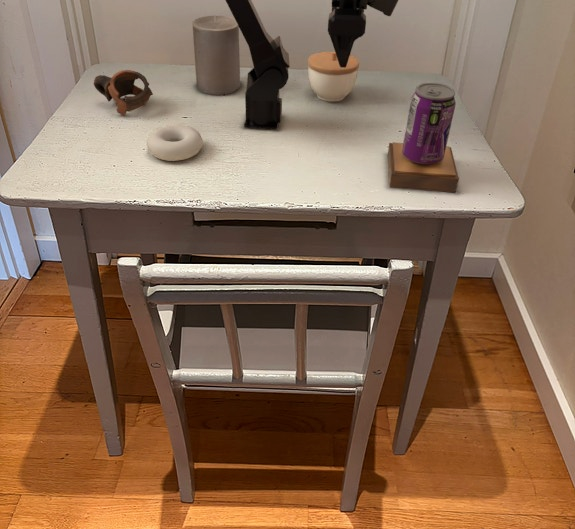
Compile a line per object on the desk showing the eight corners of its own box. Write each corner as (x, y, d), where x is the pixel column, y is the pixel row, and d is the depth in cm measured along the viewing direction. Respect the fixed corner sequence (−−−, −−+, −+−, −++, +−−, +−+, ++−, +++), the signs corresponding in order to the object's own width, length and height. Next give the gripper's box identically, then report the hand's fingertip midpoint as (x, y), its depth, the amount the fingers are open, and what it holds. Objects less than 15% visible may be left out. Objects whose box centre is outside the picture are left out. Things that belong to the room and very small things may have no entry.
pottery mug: (156, 97, 122) (157, 72, 114) (145, 133, 118) (145, 109, 111) (100, 81, 120) (97, 54, 113) (86, 116, 116) (82, 91, 109)
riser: (389, 187, 95) (392, 171, 93) (387, 155, 104) (389, 140, 102) (455, 192, 95) (459, 176, 93) (448, 159, 103) (451, 145, 101)
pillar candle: (193, 80, 129) (188, 10, 119) (236, 76, 131) (233, 7, 121) (200, 97, 121) (195, 24, 112) (245, 93, 124) (243, 21, 114)
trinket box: (337, 82, 129) (341, 40, 123) (365, 100, 122) (370, 56, 116) (297, 91, 125) (298, 48, 119) (323, 110, 118) (326, 65, 112)
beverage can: (434, 172, 94) (449, 103, 86) (394, 160, 96) (406, 92, 89) (448, 154, 98) (464, 87, 91) (410, 143, 101) (422, 77, 93)
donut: (141, 145, 105) (157, 169, 98) (138, 127, 103) (154, 151, 96) (192, 134, 109) (211, 157, 102) (190, 117, 106) (210, 139, 99)
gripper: (403, -19, 88) (389, 80, 98) (397, -45, 102) (385, 43, 112) (331, -22, 88) (324, 76, 98) (335, -48, 103) (329, 40, 113)
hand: (343, 58), depth 105 cm, fingers open, 9 cm apart
